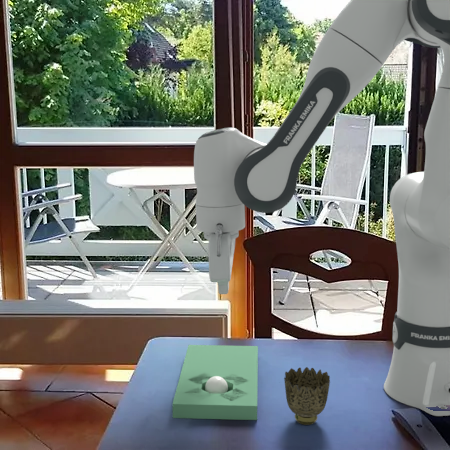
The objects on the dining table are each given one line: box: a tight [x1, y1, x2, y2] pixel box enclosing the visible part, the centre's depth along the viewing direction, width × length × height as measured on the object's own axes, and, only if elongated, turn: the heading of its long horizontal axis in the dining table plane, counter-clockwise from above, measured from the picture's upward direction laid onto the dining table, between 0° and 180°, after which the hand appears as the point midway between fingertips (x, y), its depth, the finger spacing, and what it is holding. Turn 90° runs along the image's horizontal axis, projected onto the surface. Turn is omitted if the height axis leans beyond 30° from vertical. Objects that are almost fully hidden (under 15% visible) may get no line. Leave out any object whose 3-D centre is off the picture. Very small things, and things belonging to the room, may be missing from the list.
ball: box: [205, 376, 228, 394], centre depth 120 cm, size 4×4×4 cm
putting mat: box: [171, 344, 259, 421], centre depth 125 cm, size 14×26×2 cm, turn 177°
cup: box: [283, 366, 331, 426], centre depth 111 cm, size 8×7×8 cm
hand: (223, 291), depth 126 cm, fingers closed
